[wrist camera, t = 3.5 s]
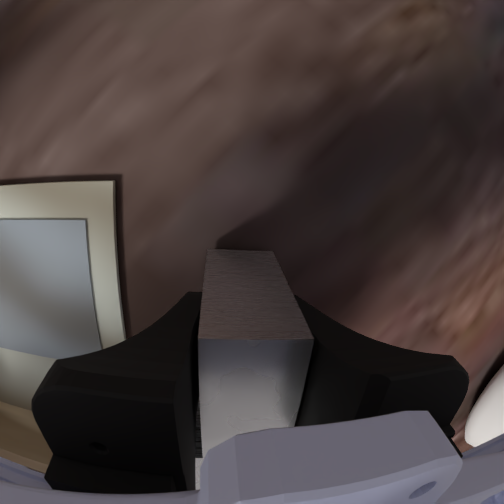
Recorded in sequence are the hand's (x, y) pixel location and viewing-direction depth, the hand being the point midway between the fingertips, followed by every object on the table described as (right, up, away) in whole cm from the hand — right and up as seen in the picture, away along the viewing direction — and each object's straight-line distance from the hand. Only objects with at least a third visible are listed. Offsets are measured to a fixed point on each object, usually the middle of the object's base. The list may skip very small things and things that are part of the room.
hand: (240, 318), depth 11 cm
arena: (-11, -2, +1) cm, 11 cm away
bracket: (-1, -1, +2) cm, 3 cm away
